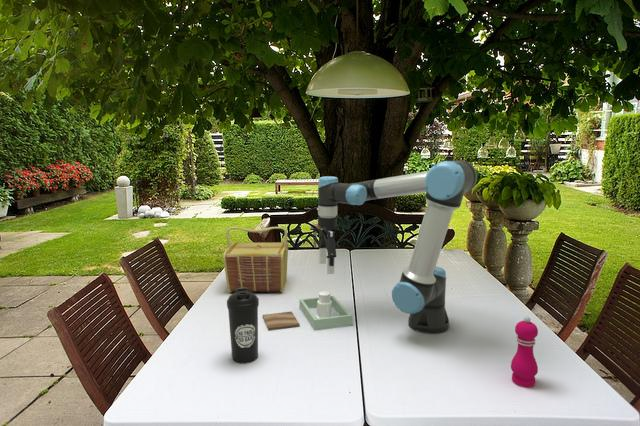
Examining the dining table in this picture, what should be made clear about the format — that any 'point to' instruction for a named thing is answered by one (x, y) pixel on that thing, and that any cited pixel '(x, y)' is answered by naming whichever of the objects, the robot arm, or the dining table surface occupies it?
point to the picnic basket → (256, 264)
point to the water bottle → (243, 325)
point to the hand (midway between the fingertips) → (326, 268)
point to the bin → (327, 322)
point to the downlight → (324, 305)
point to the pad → (280, 321)
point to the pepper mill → (525, 354)
